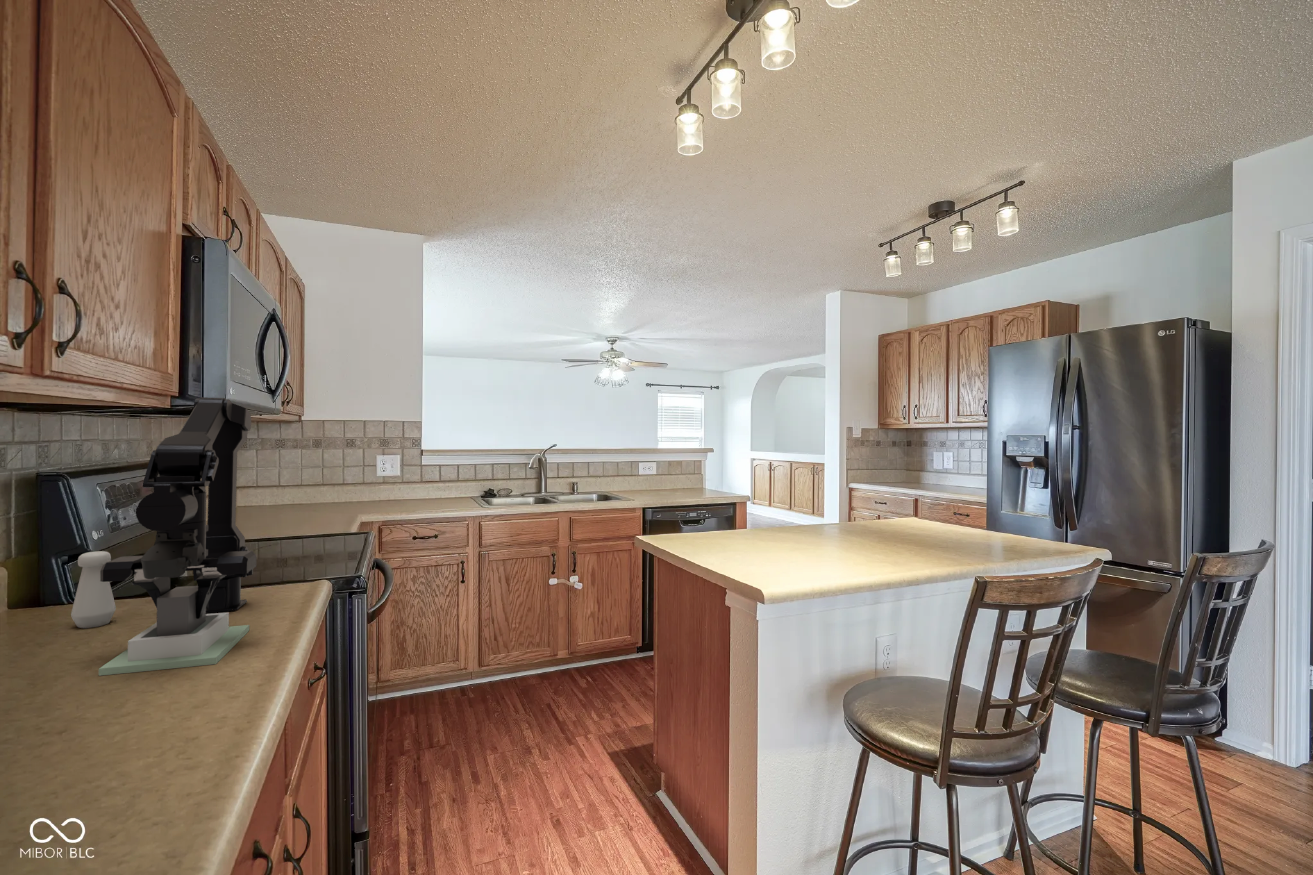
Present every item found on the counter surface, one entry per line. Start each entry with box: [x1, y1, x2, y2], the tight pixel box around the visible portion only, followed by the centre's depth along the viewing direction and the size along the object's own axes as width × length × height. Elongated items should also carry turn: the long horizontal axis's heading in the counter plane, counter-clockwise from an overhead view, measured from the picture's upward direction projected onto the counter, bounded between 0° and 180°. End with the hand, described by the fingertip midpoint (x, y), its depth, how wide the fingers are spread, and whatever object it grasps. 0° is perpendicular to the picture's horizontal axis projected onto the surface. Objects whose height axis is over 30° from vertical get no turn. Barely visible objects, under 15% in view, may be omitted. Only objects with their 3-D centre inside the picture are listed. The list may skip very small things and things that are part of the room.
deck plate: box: [98, 611, 250, 677], centre depth 93 cm, size 16×14×4 cm
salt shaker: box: [70, 550, 117, 629], centre depth 105 cm, size 6×6×13 cm
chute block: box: [156, 585, 207, 637], centre depth 93 cm, size 7×4×6 cm, turn 20°
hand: (182, 619), depth 93 cm, fingers closed on chute block, 4 cm apart
